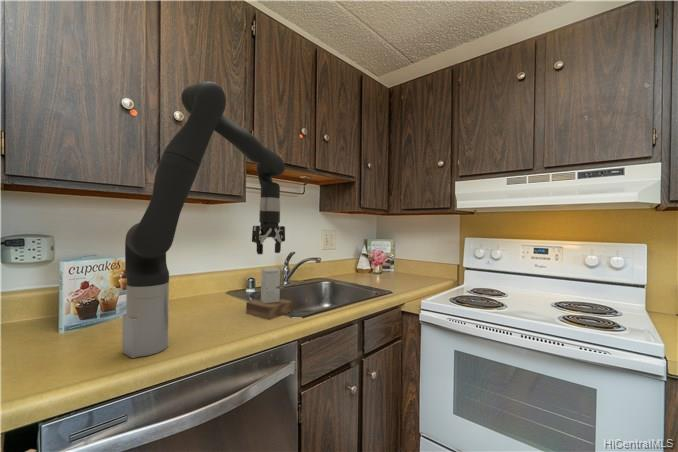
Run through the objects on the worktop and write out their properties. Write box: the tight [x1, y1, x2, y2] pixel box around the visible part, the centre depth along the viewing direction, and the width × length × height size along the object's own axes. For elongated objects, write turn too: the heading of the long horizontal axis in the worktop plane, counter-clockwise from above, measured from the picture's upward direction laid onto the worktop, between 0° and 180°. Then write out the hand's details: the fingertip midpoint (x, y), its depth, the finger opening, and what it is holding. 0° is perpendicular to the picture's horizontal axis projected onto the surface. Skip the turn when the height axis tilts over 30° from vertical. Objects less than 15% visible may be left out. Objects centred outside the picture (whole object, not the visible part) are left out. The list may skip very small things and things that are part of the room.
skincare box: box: [260, 268, 281, 304], centre depth 109 cm, size 6×4×12 cm
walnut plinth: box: [245, 297, 294, 320], centre depth 109 cm, size 12×12×4 cm
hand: (269, 253), depth 108 cm, fingers open, 8 cm apart
